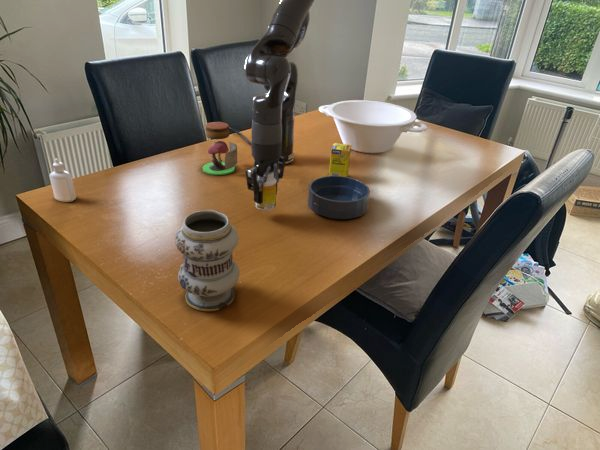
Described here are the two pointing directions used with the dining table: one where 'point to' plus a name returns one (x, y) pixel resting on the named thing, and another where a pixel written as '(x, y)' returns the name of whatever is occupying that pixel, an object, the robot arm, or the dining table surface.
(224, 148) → the mushroom terrarium
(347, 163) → the supplement box
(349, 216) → the bowl
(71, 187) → the eye dropper bottle
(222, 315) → the dining table surface
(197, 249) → the apothecary jar
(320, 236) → the dining table surface
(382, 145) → the white wash basin
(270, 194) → the supplement bottle
